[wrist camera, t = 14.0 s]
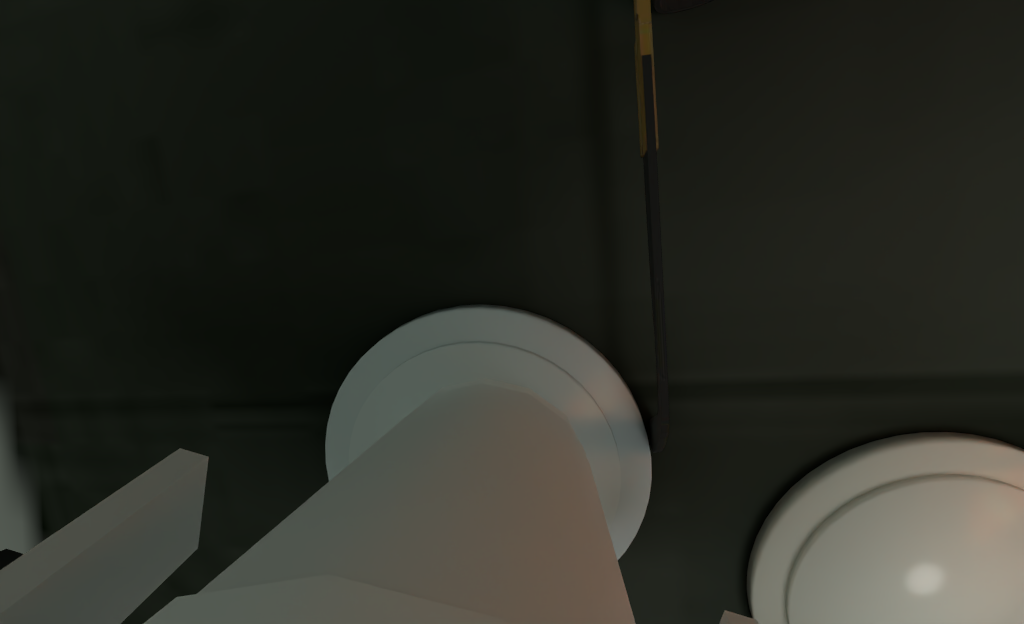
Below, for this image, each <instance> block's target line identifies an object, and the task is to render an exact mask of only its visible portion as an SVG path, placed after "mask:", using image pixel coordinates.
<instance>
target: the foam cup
mask: <svg viewBox="0 0 1024 624" xmlns="http://www.w3.org/2000/svg"><path fill="white" fill-rule="evenodd" d="M144 624H635V620H634V617H633V613H632V610H631V606H630V603H629V599H628V596H627V592H626V589H625V585H624V582H623V578H622V575H621V571H620V568H619V564H618V561H617V557H616V554H615V550H614V547H613V543H612V540H611V537H610V533H609V530H608V526H607V523H606V519H605V516H604V512H603V509H602V505H601V502H600V498H599V495H598V491H597V488H596V484H595V481H594V477H593V474H592V470H591V467H590V463H589V461H588V459H587V457H586V452H585V450H584V448H583V446H582V445H581V443H580V441H579V439H578V437H577V435H576V433H575V431H574V429H573V428H572V426H571V424H570V422H569V420H568V418H567V416H566V415H565V414H564V413H562V412H561V411H560V410H558V409H557V408H555V407H554V406H553V405H551V404H550V403H549V402H547V401H546V400H545V399H543V398H542V397H541V396H539V395H538V394H537V393H535V392H534V391H533V390H531V389H530V388H526V387H522V386H517V385H513V384H508V383H504V382H500V381H495V380H491V379H486V378H484V379H480V380H475V381H470V382H465V383H461V384H456V385H451V386H446V387H442V388H441V389H440V390H439V391H437V392H436V393H435V394H433V395H432V396H431V397H430V398H428V399H427V400H426V401H425V402H423V403H422V404H421V405H420V406H418V407H417V408H416V409H415V410H413V411H412V412H411V413H410V414H408V415H407V416H406V417H405V418H403V419H402V420H401V421H400V422H399V423H397V424H396V425H395V426H394V427H393V428H391V429H390V430H389V431H388V432H387V433H386V434H384V435H383V436H382V437H381V438H380V439H379V440H377V441H376V442H375V443H374V444H373V445H371V446H370V447H369V448H368V449H367V450H366V451H364V452H363V453H362V454H361V455H360V456H359V457H357V458H356V459H355V460H354V461H353V462H351V463H350V464H349V465H348V466H347V467H346V468H344V469H343V470H342V471H341V472H340V473H339V474H337V475H336V476H335V477H334V478H333V479H331V480H330V481H329V482H328V483H327V484H326V485H324V486H323V487H322V488H321V489H320V490H319V491H317V492H316V493H315V494H314V495H313V496H311V497H310V498H309V499H308V500H307V501H306V502H304V503H303V504H302V505H301V506H300V507H299V508H297V509H296V510H295V511H294V512H293V513H291V514H290V515H289V516H288V517H287V518H286V519H284V520H283V521H282V522H281V523H280V524H279V525H277V526H276V527H275V528H274V529H273V530H271V531H270V532H269V533H268V534H267V535H266V536H264V537H263V538H262V539H261V540H260V541H259V542H257V543H256V544H255V545H254V546H253V547H251V548H250V549H249V550H248V551H247V552H246V553H244V554H243V555H242V556H241V557H240V558H239V559H237V560H236V561H235V562H234V563H233V564H231V565H230V566H229V567H228V568H227V569H226V570H224V571H223V572H222V573H221V574H220V575H219V576H217V577H216V578H215V579H214V580H213V581H211V582H210V583H209V584H208V585H207V586H206V587H204V588H203V589H202V590H201V591H200V592H198V593H197V594H195V595H188V596H182V597H176V598H175V599H174V600H173V601H171V602H170V603H169V604H168V605H166V606H165V607H164V608H163V609H161V610H160V611H159V612H158V613H156V614H155V615H154V616H153V617H151V618H150V619H149V620H148V621H146V622H145V623H144Z"/></svg>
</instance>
